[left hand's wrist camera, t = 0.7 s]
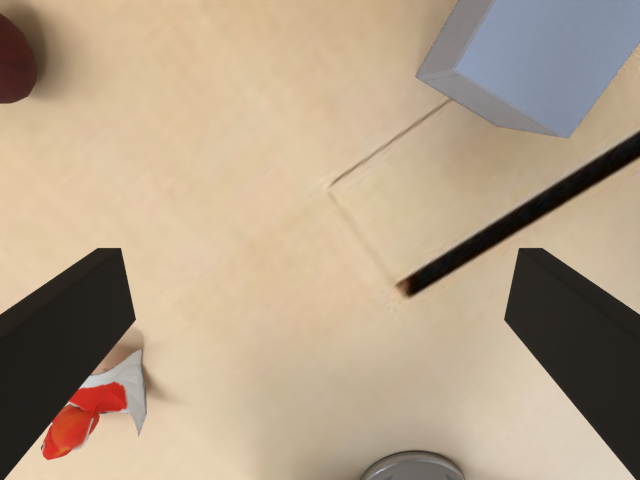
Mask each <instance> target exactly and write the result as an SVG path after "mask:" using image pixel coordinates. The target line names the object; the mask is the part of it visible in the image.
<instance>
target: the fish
mask: <svg viewBox="0 0 640 480" xmlns="http://www.w3.org/2000/svg"><path fill="white" fill-rule="evenodd" d="M141 362H142V349H139V350H137V351H135V352H134V353H132V354H131V355H130V356H128V357H127V358H126V359H125V360H124V361H122V362H121V363H119V364H118V365H116V366H115V367H113V368H112V369H110V370H109V371H107V372H105V373H101V372H102V370H101V372H100V374H96V375H90V376H89V377H88V378H87V380H86V381H85V382H84V383H83V384H82V386H81V387H80V388H79V389H78V390H77V392H76V393H75V394H74V395H73V397H72V398H71V399H70V400H69V401H68V402H69V403H70V405H67V406H65V407H64V408H63V409H62V410H61V411H60V412H59V414H58V415H57V416H56V417H55V418H54V420H53V421H52V422H53V424H52V425H51V426H50V428H49V431H48V433H47V435H46V437H45V439H44V441H43V444H42V447H41V451H42V453H43V456H44V457H45V458H46V459H47V460H50V459H55V458H59V457H62V456H65V455H67V454H68V453H69V452H70V451H71V450H77V449H81V448H82V447H83V446H84V445H85V443H86V441H87V440H88V436H89V435H90V434H91V433H92V431H93V430H94V428H95V427H96V425H97V423H98V422H99V414H100V413H101V414H102V413H111V412H122V413H129V414H130V415H131V416H132V417H133V420H134V422H135V425H136V427H137V431H138V437H139V434H140V431H141V428H142V425H143V422H144V419H145V416H146V414H147V411H146V387H145V382H144V376H143V371H142V365H141Z"/></svg>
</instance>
